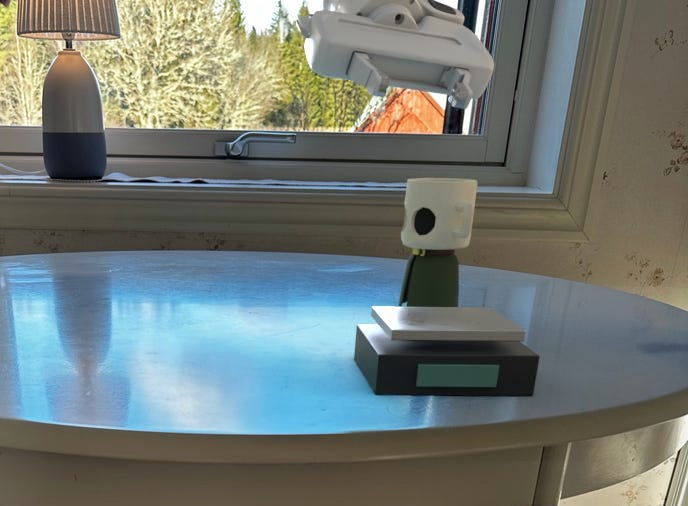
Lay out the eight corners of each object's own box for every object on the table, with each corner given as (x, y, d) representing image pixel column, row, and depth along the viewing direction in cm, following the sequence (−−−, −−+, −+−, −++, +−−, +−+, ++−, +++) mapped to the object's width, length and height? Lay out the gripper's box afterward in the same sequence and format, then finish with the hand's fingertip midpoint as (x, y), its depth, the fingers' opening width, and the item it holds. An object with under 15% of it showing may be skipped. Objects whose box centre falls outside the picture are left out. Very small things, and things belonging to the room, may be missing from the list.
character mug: (371, 306, 106) (383, 177, 100) (425, 303, 109) (439, 176, 102) (428, 324, 97) (444, 183, 91) (485, 319, 100) (505, 182, 94)
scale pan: (490, 317, 80) (491, 307, 80) (524, 341, 71) (526, 330, 71) (371, 316, 80) (371, 306, 80) (391, 340, 71) (392, 329, 71)
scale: (491, 360, 83) (497, 325, 81) (534, 396, 72) (541, 356, 71) (353, 359, 83) (356, 323, 81) (375, 395, 72) (379, 355, 70)
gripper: (300, -19, 98) (339, 46, 90) (473, 12, 104) (523, 75, 96) (283, 46, 102) (318, 113, 95) (449, 73, 109) (494, 137, 101)
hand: (423, 94), depth 96 cm, fingers open, 8 cm apart
